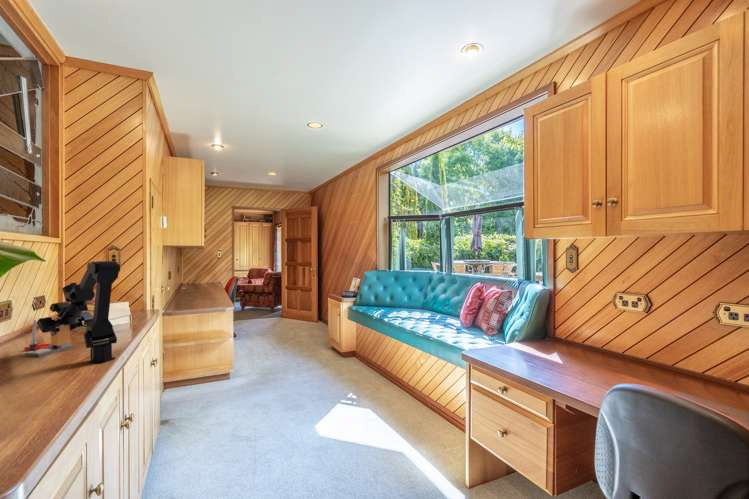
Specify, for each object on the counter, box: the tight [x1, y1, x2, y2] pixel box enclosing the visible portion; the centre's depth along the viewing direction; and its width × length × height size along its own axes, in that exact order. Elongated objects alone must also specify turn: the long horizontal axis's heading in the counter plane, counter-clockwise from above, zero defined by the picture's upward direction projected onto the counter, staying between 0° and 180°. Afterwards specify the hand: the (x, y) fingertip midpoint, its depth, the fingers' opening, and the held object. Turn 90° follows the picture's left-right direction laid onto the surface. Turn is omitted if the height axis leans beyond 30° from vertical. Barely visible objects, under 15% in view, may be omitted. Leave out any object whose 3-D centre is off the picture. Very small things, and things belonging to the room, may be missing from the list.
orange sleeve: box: [50, 325, 71, 346], centre depth 153 cm, size 5×5×10 cm
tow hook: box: [23, 320, 51, 351], centre depth 156 cm, size 8×13×9 cm
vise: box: [24, 342, 75, 358], centre depth 149 cm, size 7×14×5 cm, turn 170°
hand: (58, 333), depth 153 cm, fingers closed on orange sleeve, 5 cm apart
